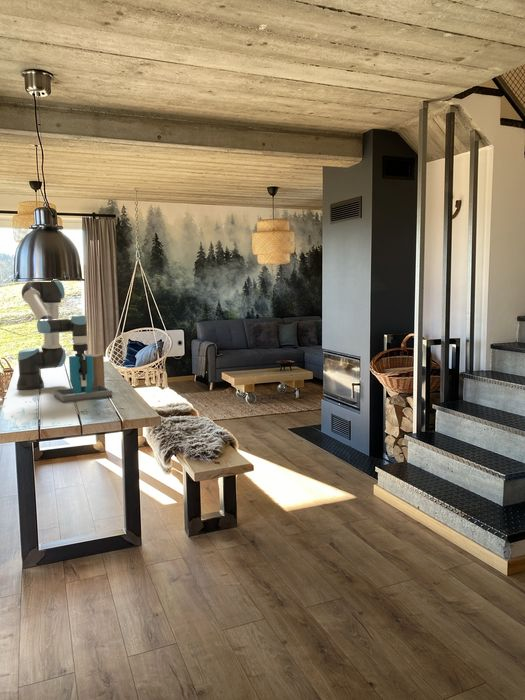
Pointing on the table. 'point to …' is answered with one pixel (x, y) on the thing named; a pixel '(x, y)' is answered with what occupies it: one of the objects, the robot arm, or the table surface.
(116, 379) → the table surface
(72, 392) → the tray
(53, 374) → the table surface
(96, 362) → the wooden block
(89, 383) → the block
